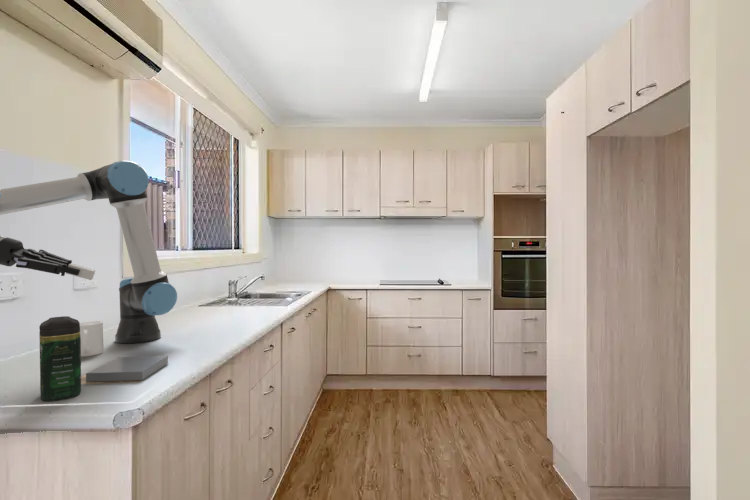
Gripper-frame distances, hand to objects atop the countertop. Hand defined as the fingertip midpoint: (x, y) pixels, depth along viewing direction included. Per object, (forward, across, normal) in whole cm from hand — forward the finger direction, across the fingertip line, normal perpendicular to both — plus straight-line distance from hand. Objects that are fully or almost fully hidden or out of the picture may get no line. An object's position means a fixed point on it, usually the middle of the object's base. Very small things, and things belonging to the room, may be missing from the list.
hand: (93, 275), depth 129 cm
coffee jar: (+9, +30, -20) cm, 37 cm away
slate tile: (+13, +13, -20) cm, 27 cm away
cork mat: (+17, +14, -20) cm, 30 cm away
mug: (+3, -11, -30) cm, 33 cm away
